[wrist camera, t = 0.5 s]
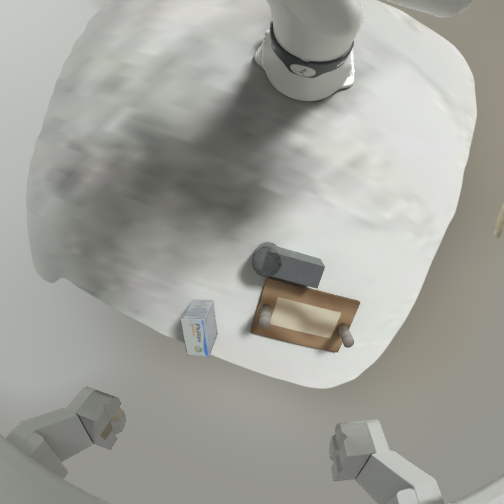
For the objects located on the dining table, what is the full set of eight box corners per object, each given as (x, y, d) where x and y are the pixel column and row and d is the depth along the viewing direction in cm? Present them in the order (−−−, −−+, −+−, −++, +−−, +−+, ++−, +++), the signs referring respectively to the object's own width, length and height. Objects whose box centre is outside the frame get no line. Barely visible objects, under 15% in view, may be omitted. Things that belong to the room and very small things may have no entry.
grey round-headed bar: (258, 239, 50) (256, 245, 45) (321, 256, 49) (325, 264, 45) (251, 263, 51) (249, 272, 46) (312, 280, 51) (316, 290, 46)
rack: (267, 276, 51) (265, 290, 45) (359, 301, 51) (369, 316, 44) (250, 330, 54) (247, 348, 48) (337, 350, 54) (343, 369, 47)
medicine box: (192, 299, 54) (178, 319, 45) (214, 299, 53) (203, 319, 45) (198, 333, 56) (186, 356, 47) (218, 334, 55) (209, 357, 47)
